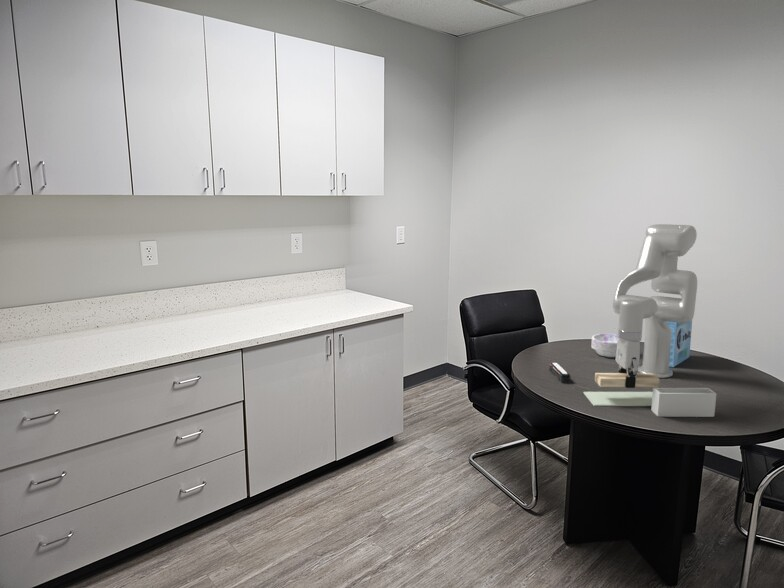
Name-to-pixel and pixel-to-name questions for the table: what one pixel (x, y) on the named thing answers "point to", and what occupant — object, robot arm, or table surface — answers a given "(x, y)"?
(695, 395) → the box
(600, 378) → the beige wooden block
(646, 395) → the mat
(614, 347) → the paper bowls
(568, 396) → the table surface
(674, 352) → the gum box
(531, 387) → the table surface
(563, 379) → the bus
